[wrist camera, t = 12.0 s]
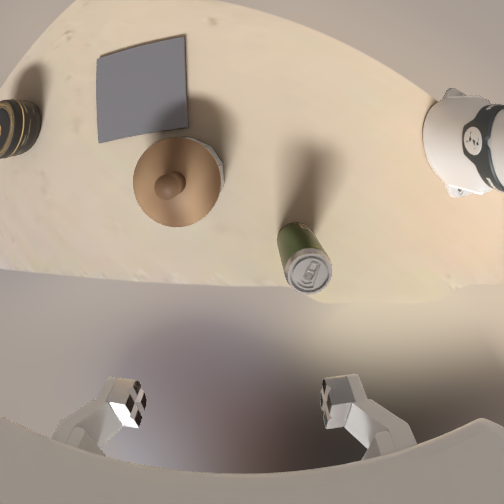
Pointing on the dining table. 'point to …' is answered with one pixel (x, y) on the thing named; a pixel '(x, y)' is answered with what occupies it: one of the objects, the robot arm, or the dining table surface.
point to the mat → (142, 90)
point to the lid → (177, 182)
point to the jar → (18, 127)
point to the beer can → (303, 259)
